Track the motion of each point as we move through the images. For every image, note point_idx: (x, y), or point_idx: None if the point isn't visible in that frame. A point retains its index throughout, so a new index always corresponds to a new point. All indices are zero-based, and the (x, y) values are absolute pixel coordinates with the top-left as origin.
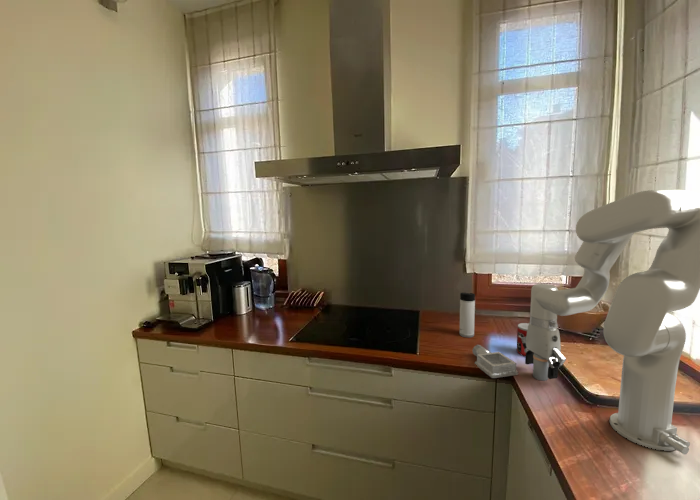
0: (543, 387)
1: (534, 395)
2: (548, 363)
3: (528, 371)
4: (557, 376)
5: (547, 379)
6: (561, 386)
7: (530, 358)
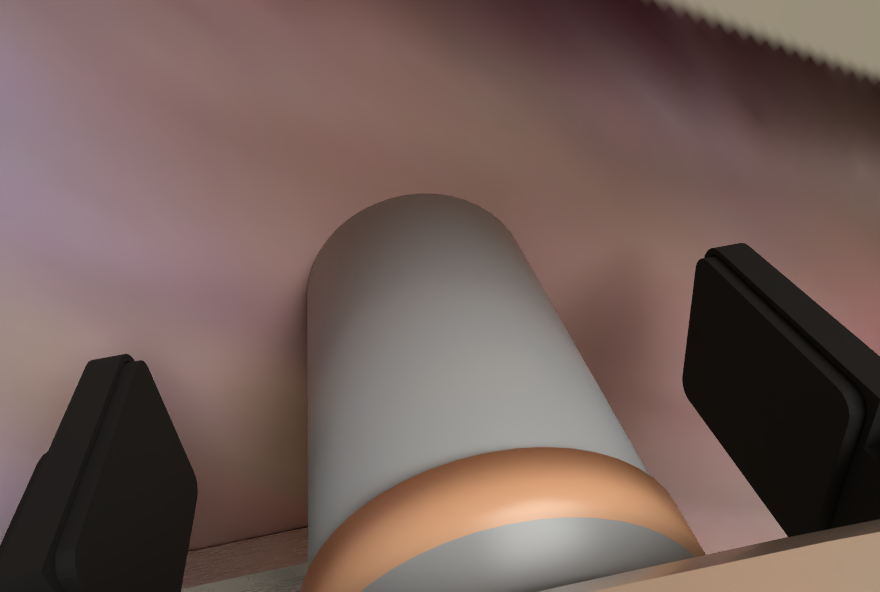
0: (662, 387)
1: (745, 524)
2: (627, 441)
3: (224, 372)
4: (751, 252)
5: (514, 240)
6: (727, 144)
7: (153, 533)
